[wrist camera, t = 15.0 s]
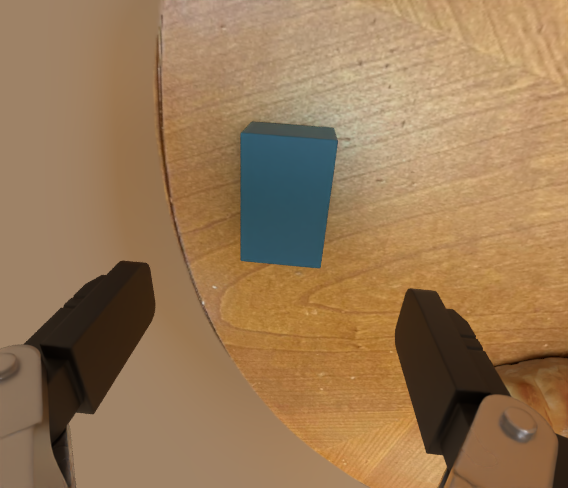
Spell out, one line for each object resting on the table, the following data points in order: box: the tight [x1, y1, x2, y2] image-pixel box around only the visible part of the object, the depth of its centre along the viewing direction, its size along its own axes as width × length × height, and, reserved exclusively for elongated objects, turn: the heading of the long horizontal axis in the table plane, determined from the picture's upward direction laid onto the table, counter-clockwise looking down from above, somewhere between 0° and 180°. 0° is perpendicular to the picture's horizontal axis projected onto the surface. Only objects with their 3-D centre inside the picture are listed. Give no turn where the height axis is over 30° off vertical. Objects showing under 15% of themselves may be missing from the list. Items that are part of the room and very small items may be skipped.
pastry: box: [495, 357, 568, 438], centre depth 24 cm, size 9×7×4 cm
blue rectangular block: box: [241, 122, 338, 268], centre depth 18 cm, size 7×4×3 cm, turn 176°
